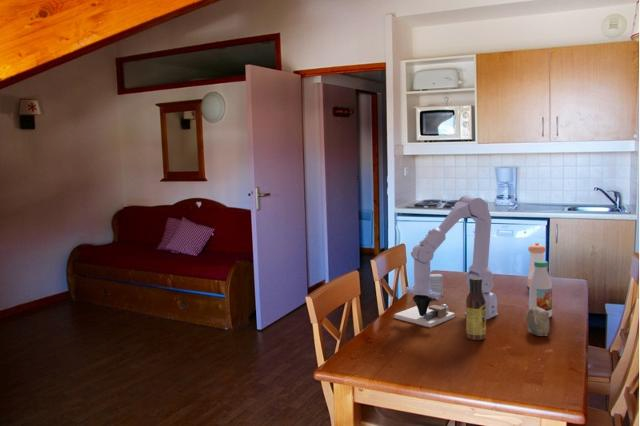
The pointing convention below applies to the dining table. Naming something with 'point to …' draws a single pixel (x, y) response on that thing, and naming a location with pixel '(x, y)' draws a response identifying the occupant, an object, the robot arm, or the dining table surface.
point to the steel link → (434, 313)
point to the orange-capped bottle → (535, 258)
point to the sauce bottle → (475, 310)
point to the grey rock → (538, 321)
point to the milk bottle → (541, 288)
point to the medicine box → (437, 283)
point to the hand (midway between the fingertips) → (422, 315)
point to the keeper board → (414, 316)
